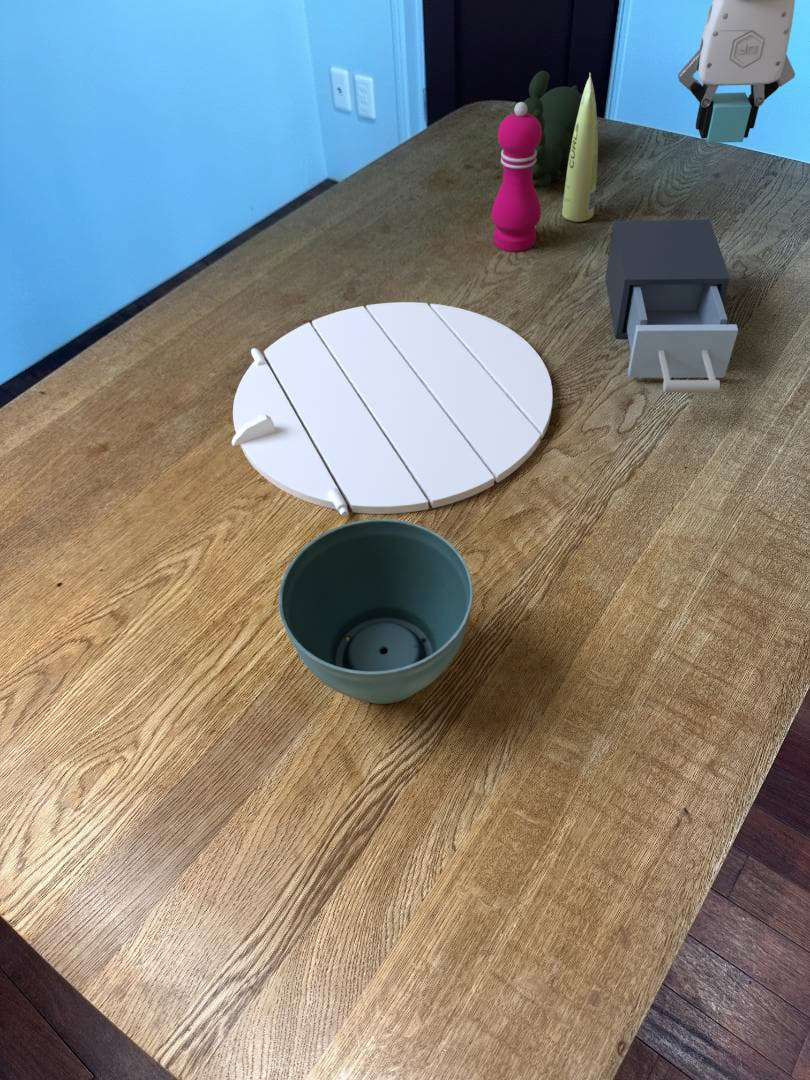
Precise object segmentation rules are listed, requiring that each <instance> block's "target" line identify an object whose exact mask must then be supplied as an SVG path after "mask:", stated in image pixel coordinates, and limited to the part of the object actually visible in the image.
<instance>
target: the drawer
mask: <svg viewBox="0 0 810 1080" xmlns="http://www.w3.org/2000/svg"><path fill="white" fill-rule="evenodd" d="M625 323H626V329H627V334H628V338H627V340H628V345H629V350H630V357H629V363H628V369H627V376H628V378H630V379H632V378H633V379H634V378H635V379H636V378H639V379H643V378H644V379H645V378H647V379H650V378H651V379H652V378H653V379H654V378H656V379H658V378H659V379H661V378H662V379H663V383H662V392H663V393H664V394H665V393H667V394H669V393H672V394H673V393H677V394H678V393H679V394H681V393H682V394H683V393H684V394H685V393H689V394H690V393H691V394H692V393H693V394H694V393H695V394H696V393H697V394H699V393H700V394H701V393H702V394H703V393H705V394H706V393H708V394H709V393H711V394H712V393H715V394H717V393H719V392H720V390H721V381H720V379H722V378H723V379H724V378H725V377H726V374H727V370H728V367H729V364H730V360H731V357H732V353H733V350H734V346H735V343H736V341H737V336H738V333H739V328H738V324H735V323H734V324H731V323H728V316H727V312H726V309H725V307H724V303H722V300H721V297H720V294H719V291H718V288H717V285H716V284H685V285H630V290H629V296H628V302H627V308H626V314H625ZM677 378H678V379H677ZM682 378H683V379H682ZM685 378H687V379H685ZM688 378H689V379H688ZM690 378H691V379H690ZM693 378H694V379H693ZM695 378H697V379H695ZM699 378H701V379H699ZM702 378H703V379H702ZM705 378H707V379H705ZM717 378H718V379H717ZM719 378H720V379H719Z"/></svg>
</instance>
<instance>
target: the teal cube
mask: <svg viewBox="0 0 810 1080" xmlns="http://www.w3.org/2000/svg"><path fill="white" fill-rule="evenodd" d="M748 98H749V96H748V95H747V93H746V92H745V91H743V92H715V94H714V96H713V99H712V107H713V112H712V117H711V121H710V126H709V131H708V136H707V137H706V138H705V139H706V143H708V144H712V143H713V144H715V143H716V144H717V143H719V144H720V143H743V142H744V139H745V138H744V135H745V130H746V126H747V122H748V118H749V114H750V110H751V104H750V102H749V100H748Z"/></svg>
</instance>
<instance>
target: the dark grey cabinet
mask: <svg viewBox="0 0 810 1080" xmlns="http://www.w3.org/2000/svg"><path fill="white" fill-rule="evenodd" d="M609 245H610V246H609V252H608V258H607V266H606V273H605V282H606V289H607V295H608V302H609V308H610V313H611V322H612V327H613V334H614V338H615V339H628V334H627V329H626V323H625V314H626V308H627V302H628V296H629V290H630V285H685V284H716V285H717V288H718V291H719V294H720V297H721V300H722V303H723V304H724V303H725V299H726V296H727V293H728V289H729V284H730V282H731V276H730V274H729V270H728V268H727V265H726V262H725V260H724V256H723V254H722V249H721V248H720V244H719V242H718V240H717V237H716V232H715V231H714V228H713V224H712V221H711V219H660V220H656V219H655V220H614V221H613V224H612V231H611V237H610V244H609Z"/></svg>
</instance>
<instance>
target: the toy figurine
mask: <svg viewBox="0 0 810 1080" xmlns="http://www.w3.org/2000/svg"><path fill="white" fill-rule="evenodd" d="M549 80H550V73H549V72H547V71H545V70H540V71H539V72H537V73H535V75H534V76H533V77H532V79H531V81H530V83H529V86H528V93H529V97H528V98H526V99H525V100H524V101H522V102H523V103H525V104H526V105H527V113H529V114H531V115H533V116H534V117H536V118H537V120H538V121H539V123H540V125H541V130H542V137H541V141H540V143H539V145H538V146H537V147H536V148H535V149H536V151H537V155H536V163H535V164H534V165H533V169H532V179H533V181H537V183H538V184H539V186H540V188H541V187H542V188H546V187H548V186H550V185H551V183H552V182H555V183H556V182H558V181H560V180H561V178H562V171H561V170H560V169H563V170H564V169H567V168H568V161H569V155H570V149H571V144H572V139H573V134H574V129H575V125H576V120H577V116H578V112H579V107H580V103H581V99H582V95H583V94H581V93H580V92H579V90H578V86H577V85H573V86H571V87H569V86H558V87H555V88H552V89H550V90H549V91H547V89H548V84H549V82H550V81H549ZM546 91H547V92H546Z"/></svg>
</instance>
